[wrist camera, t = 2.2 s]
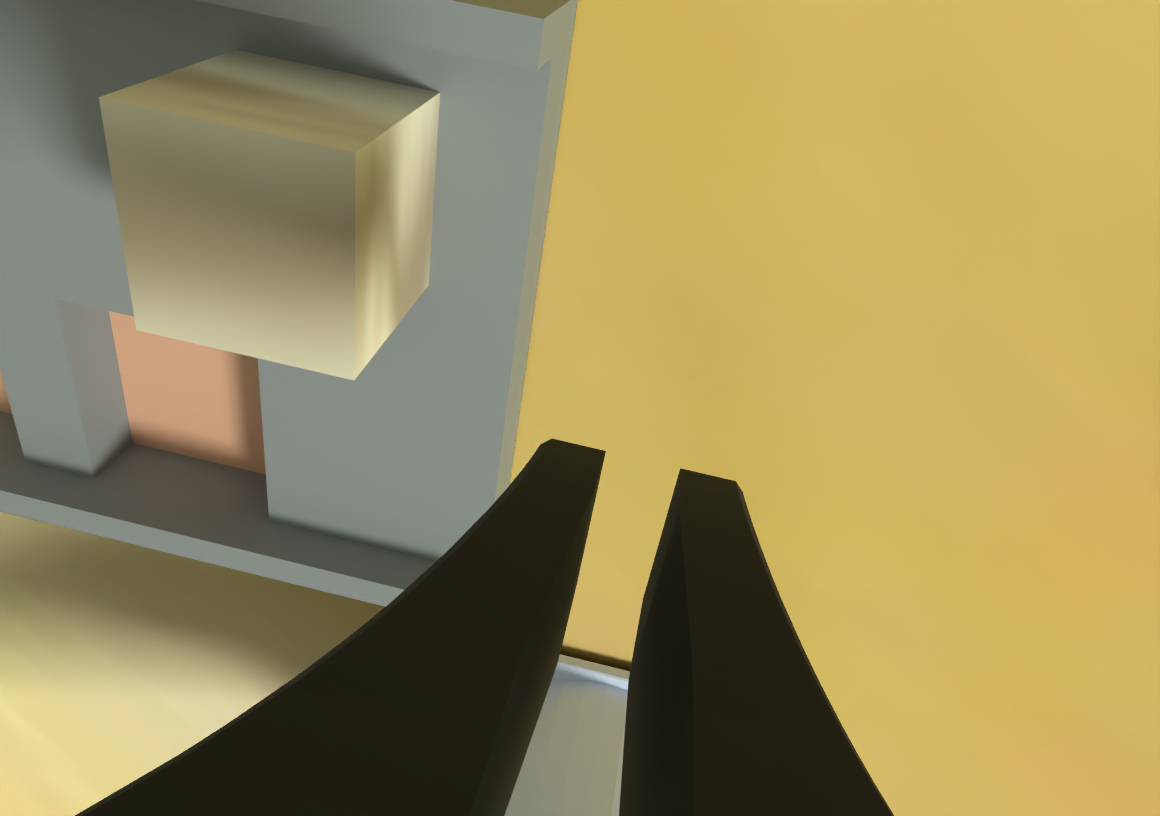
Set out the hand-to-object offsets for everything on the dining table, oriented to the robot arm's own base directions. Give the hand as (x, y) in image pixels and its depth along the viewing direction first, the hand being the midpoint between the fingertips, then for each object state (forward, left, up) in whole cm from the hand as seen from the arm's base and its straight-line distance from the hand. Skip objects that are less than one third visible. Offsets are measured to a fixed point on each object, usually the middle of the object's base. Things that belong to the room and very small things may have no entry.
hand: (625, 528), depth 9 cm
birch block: (0, +7, -8) cm, 11 cm away
